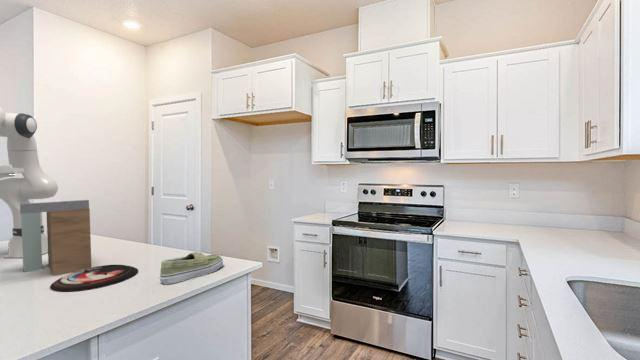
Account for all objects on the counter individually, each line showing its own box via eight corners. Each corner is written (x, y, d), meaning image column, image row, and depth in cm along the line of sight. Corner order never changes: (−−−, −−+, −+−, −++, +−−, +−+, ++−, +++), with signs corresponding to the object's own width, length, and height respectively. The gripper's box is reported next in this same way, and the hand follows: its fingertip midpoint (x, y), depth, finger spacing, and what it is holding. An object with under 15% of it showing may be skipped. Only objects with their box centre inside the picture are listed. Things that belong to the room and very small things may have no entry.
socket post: (23, 268, 146) (20, 207, 145) (41, 265, 150) (38, 206, 149) (23, 272, 140) (21, 209, 139) (42, 269, 144) (40, 208, 143)
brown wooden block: (48, 264, 151) (46, 207, 150) (83, 259, 160) (81, 205, 159) (53, 275, 135) (50, 211, 134) (91, 268, 144) (89, 208, 143)
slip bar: (20, 212, 131) (19, 203, 131) (87, 208, 146) (87, 199, 146) (20, 213, 129) (20, 204, 128) (89, 208, 144) (88, 200, 143)
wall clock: (84, 303, 113) (154, 271, 142) (82, 290, 113) (153, 260, 141) (32, 293, 122) (108, 265, 150) (30, 281, 122) (107, 255, 150)
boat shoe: (229, 267, 146) (229, 246, 145) (172, 288, 121) (172, 263, 120) (212, 263, 151) (212, 244, 150) (154, 283, 126) (154, 260, 125)
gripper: (-21, 160, 120) (28, 160, 132) (-38, 170, 130) (8, 168, 142) (-18, 178, 120) (30, 176, 132) (-36, 185, 130) (10, 183, 142)
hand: (18, 172), depth 137 cm, fingers open, 8 cm apart
